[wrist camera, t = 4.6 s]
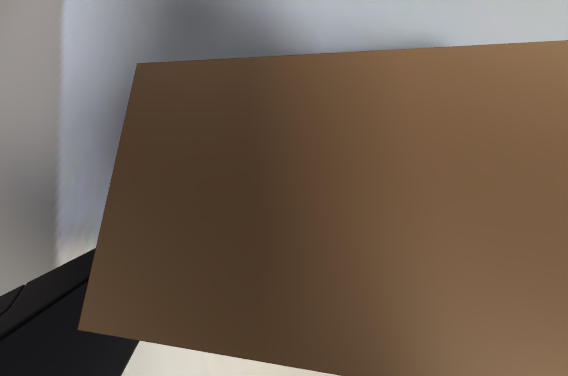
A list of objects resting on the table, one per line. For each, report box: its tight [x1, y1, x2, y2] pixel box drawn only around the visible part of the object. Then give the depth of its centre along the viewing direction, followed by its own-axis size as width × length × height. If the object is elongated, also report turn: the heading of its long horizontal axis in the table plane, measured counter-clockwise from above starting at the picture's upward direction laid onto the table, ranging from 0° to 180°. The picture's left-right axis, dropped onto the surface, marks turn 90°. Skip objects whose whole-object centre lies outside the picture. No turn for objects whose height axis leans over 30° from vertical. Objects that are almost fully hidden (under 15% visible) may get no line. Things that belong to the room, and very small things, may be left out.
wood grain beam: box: [78, 40, 568, 376], centre depth 9 cm, size 3×4×13 cm, turn 85°
